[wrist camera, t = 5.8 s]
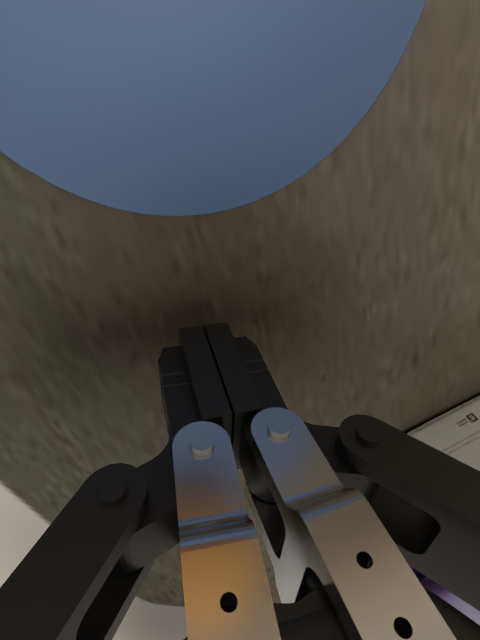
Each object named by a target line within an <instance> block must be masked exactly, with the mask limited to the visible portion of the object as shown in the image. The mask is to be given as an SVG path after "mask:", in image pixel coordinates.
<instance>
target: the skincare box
mask: <svg viewBox="0 0 480 640" xmlns="http://www.w3.org/2000/svg"><path fill="white" fill-rule="evenodd" d="M407 434H408V435H410V436H412V437H414V438H416V439H418V440H420V441H422V442H424V443H426V444H427V445H429V446H431V447H433V448H435V449H437V450H439V451H441V452H443V453H445V454H447V455H449V456H451V457H453V458H455V459H457V460H459V461H461V462H463V463H465V464H467V465H469V466H471V467H473V468H474V469H476V470H478V471H480V396H478V397H476V398H474V399H472V400H470V401H468V402H466V403H464V404H462V405H460V406H458V407H456V408H454V409H452V410H450V411H448V412H446V413H444V414H442V415H440V416H438V417H436V418H435V419H433V420H431V421H429V422H427V423H425V424H423V425H422V426H420V427H418V428H416V429H414V430H412V431H410V432H409V433H407Z"/></svg>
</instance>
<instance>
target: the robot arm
mask: <svg viewBox="0 0 480 640" xmlns="http://www.w3.org/2000/svg"><path fill="white" fill-rule="evenodd" d="M158 364H159V374H160V384H161V394H162V401H163V407H164V413H165V418H166V424H167V430H168V436H169V441H168V443H167V446H166V447H165V448H164V450H163V451H162V452H161V453H160V454H159V455H158V456H157V457H155V458H154V459H152V460H151V461H149V462H147V463H145V464H143V465H141V466H139V467H138V468H135V467H134V466H131V465H128V464H123V463H119V464H111V465H108V466H105V467H103V468H100V469H99V470H97V471H96V472H94V473H93V474H92V475H91V476H90V477H89V478H88V479H87V480H86V481H85V482H84V484H83V485H82V486H81V487H80V489H79V490H78V491H77V492H76V494H75V495H74V496H73V497H72V499H71V500H70V501H69V502H68V504H67V505H66V506H65V507H64V509H63V510H62V511H61V512H60V514H59V515H58V516H57V517H56V519H55V520H54V521H53V522H52V524H51V525H50V526H49V527H48V529H47V530H46V531H45V533H44V534H43V535H42V536H41V538H40V539H39V540H38V541H37V543H36V544H35V545H34V546H33V548H32V549H31V550H30V551H29V553H28V554H27V555H26V556H25V558H24V559H23V560H22V561H21V563H20V564H19V565H18V567H17V568H16V569H15V570H14V572H13V573H12V574H11V575H10V576H9V578H8V579H7V581H6V582H5V583H4V584H3V585H2V587H1V588H0V640H112V638H113V636H114V635H115V633H116V631H117V629H118V627H119V625H120V623H121V622H122V620H123V618H124V616H125V614H126V612H127V611H128V609H129V607H130V605H131V603H132V602H133V600H134V598H135V596H136V594H137V592H138V590H139V589H140V587H141V585H142V583H143V581H144V579H145V578H146V576H147V574H148V572H149V570H150V568H151V567H152V565H153V562H154V560H155V558H157V557H158V556H160V555H161V554H163V553H164V552H166V551H167V550H169V549H170V548H172V547H173V546H175V545H176V544H178V543H179V542H180V551H181V563H182V575H183V588H184V600H185V612H186V625H187V637H186V638H185V639H184V640H480V625H479V624H477V623H476V622H474V621H473V620H472V619H470V618H469V617H467V616H466V615H464V614H463V613H462V612H460V611H459V610H457V609H456V608H455V607H453V606H452V605H450V604H449V603H448V602H446V601H445V600H443V599H442V598H440V597H439V596H438V595H436V594H435V593H433V592H432V591H430V590H428V589H426V588H425V587H423V586H422V585H421V583H420V582H419V580H418V579H417V577H416V575H415V574H414V572H413V571H412V569H411V568H410V566H411V567H413V568H414V569H416V570H417V571H419V572H420V573H422V574H423V575H425V576H426V577H428V578H430V579H431V580H433V581H434V582H436V583H437V584H439V585H440V586H442V587H443V588H445V589H446V590H448V591H449V592H451V593H452V594H454V595H455V596H457V597H458V598H460V599H461V600H463V601H465V602H466V603H468V604H469V605H471V606H472V607H474V608H475V609H477V610H478V611H480V471H478V470H476V469H474V468H473V467H471V466H469V465H467V464H465V463H463V462H461V461H459V460H457V459H455V458H453V457H451V456H449V455H447V454H445V453H443V452H441V451H439V450H437V449H435V448H433V447H431V446H429V445H427V444H426V443H424V442H422V441H420V440H418V439H416V438H414V437H412V436H410V435H408V434H406V433H404V432H402V431H400V430H398V429H396V428H394V427H392V426H390V425H388V424H386V423H384V422H382V421H380V420H378V419H376V418H374V417H371V416H368V415H353V416H350V417H347V418H346V419H345V420H344V421H343V422H342V423H341V425H340V427H330V426H319V425H312V424H309V423H306V422H303V420H302V419H301V418H300V417H299V416H298V415H297V414H295V413H294V412H292V411H290V410H288V409H287V407H286V405H285V403H284V401H283V399H282V397H281V395H280V393H279V391H278V389H277V387H276V385H275V383H274V381H273V379H272V377H271V375H270V372H269V370H267V366H266V364H265V362H264V360H263V359H262V356H261V354H260V352H259V350H258V348H257V346H256V345H255V344H254V343H253V342H251V341H250V340H249V339H248V338H247V337H245V336H244V337H237V338H233V335H232V333H231V331H230V328H229V326H228V324H227V323H219V324H211V325H204V326H203V327H202V326H197V327H189V328H182V329H178V346H174V347H167V348H163V350H162V353H161V355H160V358H159V360H158ZM240 468H242V470H243V474H244V477H245V480H246V482H245V494H246V498H247V500H248V503H249V505H250V508H251V510H252V513H253V515H254V518H255V520H256V523H257V525H258V528H259V530H260V533H261V535H262V538H263V541H264V543H265V546H266V548H267V551H268V553H269V556H270V558H271V561H272V564H273V567H274V571H275V579H276V584H277V589H278V592H279V596H280V599H281V602H282V603H273V602H272V597H271V593H270V589H269V584H268V580H267V576H266V571H265V567H264V563H263V558H262V554H261V550H260V546H259V541H258V537H257V533H256V530H255V526H254V524H253V522H252V520H251V519H249V518H248V515H247V512H246V508H245V503H244V499H243V494H242V490H241V485H240V481H239V476H238V472H237V469H240ZM409 565H410V566H409Z"/></svg>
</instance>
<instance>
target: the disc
mask: <svg viewBox="0 0 480 640" xmlns="http://www.w3.org/2000/svg"><path fill="white" fill-rule="evenodd" d="M425 1H426V0H0V151H1V152H2V153H4V154H5V155H7V156H8V157H9V158H11V159H12V160H13V161H15V162H16V163H18V164H19V165H20V166H22V167H24V168H26V169H27V170H29V171H31V172H32V173H34V174H36V175H38V176H39V177H41V178H43V179H44V180H46V181H48V182H50V183H51V184H53V185H55V186H57V187H60V188H62V189H64V190H66V191H69V192H71V193H73V194H75V195H78V196H80V197H82V198H84V199H87V200H90V201H94V202H97V203H100V204H103V205H106V206H109V207H113V208H116V209H120V210H126V211H131V212H136V213H142V214H148V215H163V216H188V215H203V214H209V213H214V212H219V211H224V210H230V209H233V208H236V207H239V206H242V205H245V204H248V203H251V202H254V201H257V200H259V199H261V198H263V197H265V196H268V195H270V194H272V193H274V192H276V191H278V190H280V189H282V188H284V187H285V186H287V185H288V184H290V183H292V182H293V181H295V180H296V179H298V178H300V177H301V176H303V175H304V174H306V173H307V172H308V171H309V170H311V169H312V168H313V167H314V166H316V165H317V164H318V163H319V162H321V161H322V160H323V159H324V158H326V157H327V156H328V155H329V154H330V153H331V152H332V151H333V150H334V149H335V148H336V147H337V146H338V145H339V144H340V143H341V142H342V141H343V140H344V139H345V138H346V137H347V136H348V135H349V134H350V133H351V131H352V130H353V129H354V128H355V126H356V125H357V124H358V123H359V122H360V120H361V119H362V118H363V117H364V116H365V114H366V113H367V112H368V111H369V109H370V108H371V106H372V105H373V103H374V102H375V100H376V99H377V97H378V96H379V94H380V93H381V91H382V90H383V88H384V87H385V85H386V84H387V82H388V81H389V79H390V77H391V75H392V73H393V71H394V70H395V68H396V66H397V64H398V62H399V60H400V59H401V57H402V55H403V53H404V51H405V49H406V47H407V45H408V43H409V40H410V38H411V36H412V33H413V31H414V29H415V27H416V24H417V22H418V20H419V17H420V15H421V13H422V10H423V7H424V4H425Z"/></svg>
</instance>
